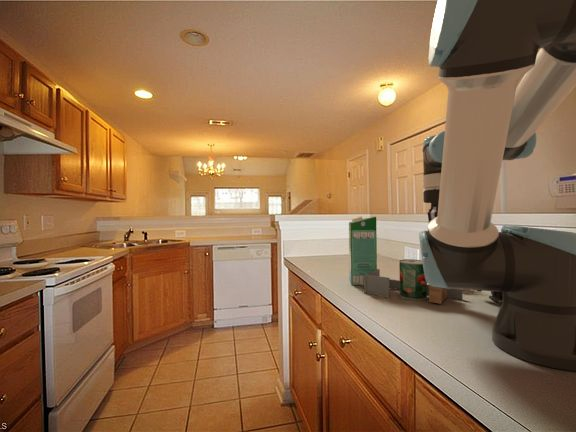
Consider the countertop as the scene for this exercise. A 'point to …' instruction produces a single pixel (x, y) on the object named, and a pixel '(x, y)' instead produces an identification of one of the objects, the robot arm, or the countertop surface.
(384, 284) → the frame
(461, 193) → the robot arm
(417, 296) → the canned tomato
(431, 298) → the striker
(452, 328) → the countertop surface
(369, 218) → the milk carton
